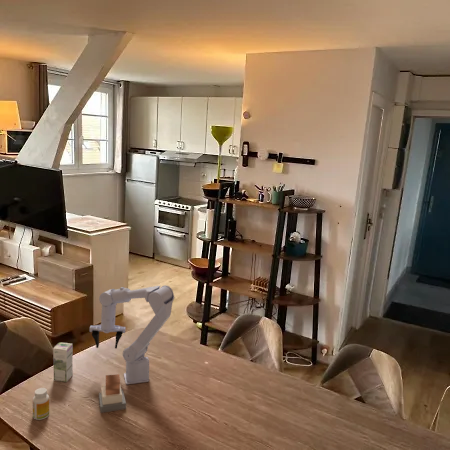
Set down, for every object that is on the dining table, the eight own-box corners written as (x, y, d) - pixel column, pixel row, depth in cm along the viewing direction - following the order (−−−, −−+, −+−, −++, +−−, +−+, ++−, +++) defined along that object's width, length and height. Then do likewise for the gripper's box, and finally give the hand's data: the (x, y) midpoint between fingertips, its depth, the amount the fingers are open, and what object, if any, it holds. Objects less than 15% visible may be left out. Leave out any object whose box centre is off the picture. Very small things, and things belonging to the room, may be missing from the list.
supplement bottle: (52, 413, 151) (52, 388, 149) (41, 422, 146) (41, 397, 144) (40, 409, 153) (40, 385, 151) (29, 417, 148) (28, 393, 146)
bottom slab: (122, 396, 165) (122, 389, 164) (125, 410, 156) (125, 403, 156) (98, 399, 161) (98, 392, 161) (100, 414, 153) (100, 407, 153)
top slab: (119, 391, 163) (120, 384, 162) (122, 402, 156) (122, 394, 156) (101, 393, 160) (101, 386, 160) (102, 404, 154) (102, 397, 153)
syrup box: (73, 374, 175) (73, 342, 173) (66, 382, 170) (66, 349, 167) (60, 373, 176) (59, 341, 173) (53, 381, 170) (52, 348, 167)
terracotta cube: (119, 386, 161) (119, 374, 160) (119, 393, 156) (120, 381, 155) (105, 387, 159) (105, 375, 158) (105, 395, 155) (106, 382, 154)
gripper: (88, 321, 172) (87, 351, 174) (124, 322, 174) (123, 352, 176) (91, 313, 178) (90, 342, 181) (126, 315, 180) (124, 344, 183)
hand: (106, 347), depth 179 cm, fingers open, 7 cm apart
